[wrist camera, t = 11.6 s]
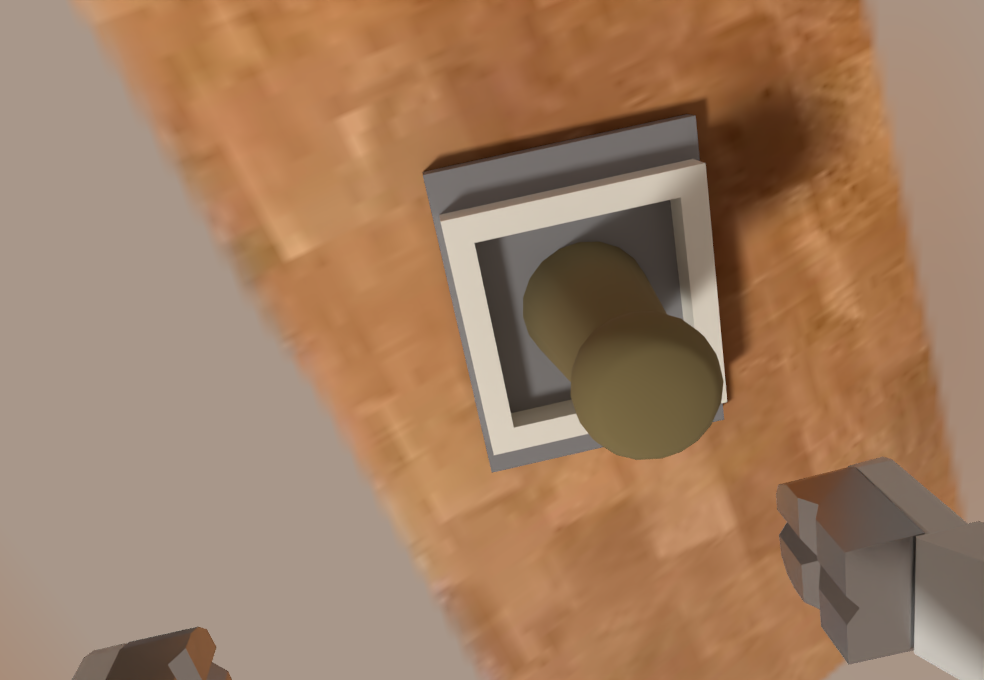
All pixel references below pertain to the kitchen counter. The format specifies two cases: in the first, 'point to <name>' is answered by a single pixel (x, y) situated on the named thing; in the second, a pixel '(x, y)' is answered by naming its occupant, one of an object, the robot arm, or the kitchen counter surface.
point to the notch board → (551, 226)
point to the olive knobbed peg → (622, 352)
